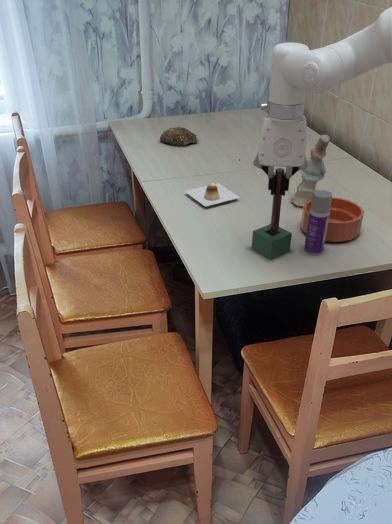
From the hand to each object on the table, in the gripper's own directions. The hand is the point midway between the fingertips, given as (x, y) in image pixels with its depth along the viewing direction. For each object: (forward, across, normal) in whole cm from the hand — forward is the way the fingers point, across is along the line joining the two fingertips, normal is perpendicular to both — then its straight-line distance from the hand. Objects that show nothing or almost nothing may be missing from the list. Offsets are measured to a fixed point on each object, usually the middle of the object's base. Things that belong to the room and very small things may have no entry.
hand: (277, 192), depth 126 cm
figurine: (+15, +9, +30) cm, 35 cm away
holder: (+15, 0, 0) cm, 15 cm away
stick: (+11, 0, 0) cm, 11 cm away
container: (+16, +10, +2) cm, 19 cm away
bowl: (+15, +15, +13) cm, 25 cm away
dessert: (+15, -18, +29) cm, 38 cm away
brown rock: (+14, -34, +77) cm, 85 cm away
